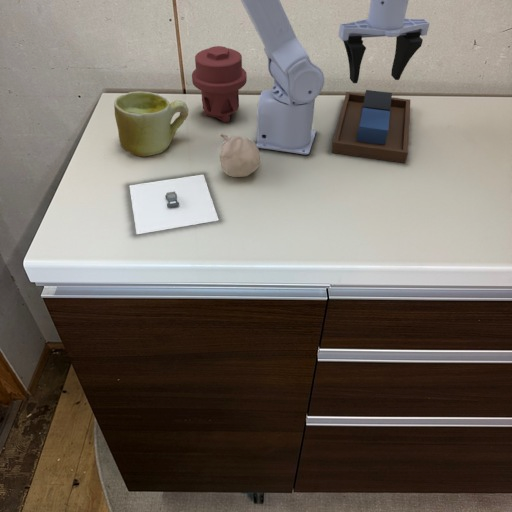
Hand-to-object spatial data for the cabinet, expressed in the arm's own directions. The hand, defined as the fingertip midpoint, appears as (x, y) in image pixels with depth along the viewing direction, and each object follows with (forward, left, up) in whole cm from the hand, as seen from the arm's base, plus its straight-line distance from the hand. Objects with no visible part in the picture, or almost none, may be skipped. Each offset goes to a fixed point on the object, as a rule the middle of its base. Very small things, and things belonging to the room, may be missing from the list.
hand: (374, 79), depth 82 cm
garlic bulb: (-19, -20, -10) cm, 29 cm away
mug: (-36, -15, -10) cm, 40 cm away
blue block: (+1, -3, -9) cm, 9 cm away
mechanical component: (-28, -2, -10) cm, 29 cm away
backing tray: (+1, 0, -9) cm, 10 cm away
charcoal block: (+1, +5, -9) cm, 10 cm away
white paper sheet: (-27, -30, -10) cm, 42 cm away
